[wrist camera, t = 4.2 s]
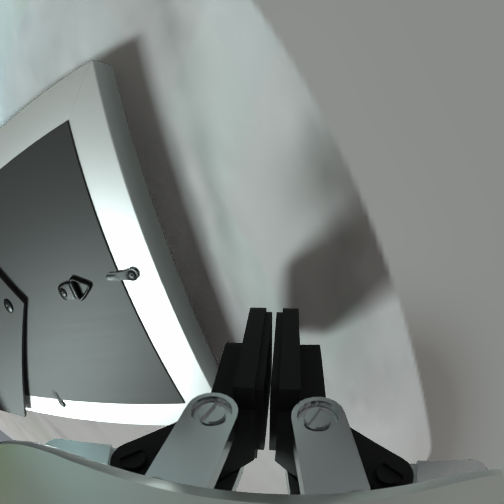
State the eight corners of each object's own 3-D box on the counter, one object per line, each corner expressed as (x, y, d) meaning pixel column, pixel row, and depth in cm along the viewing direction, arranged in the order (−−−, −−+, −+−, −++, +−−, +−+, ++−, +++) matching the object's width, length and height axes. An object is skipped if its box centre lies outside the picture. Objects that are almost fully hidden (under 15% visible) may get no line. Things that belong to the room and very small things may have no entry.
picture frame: (13, 389, 19) (237, 393, 15) (-4, 408, 16) (228, 436, 12) (-67, 220, 14) (121, 68, 10) (-92, 231, 11) (80, 55, 7)
